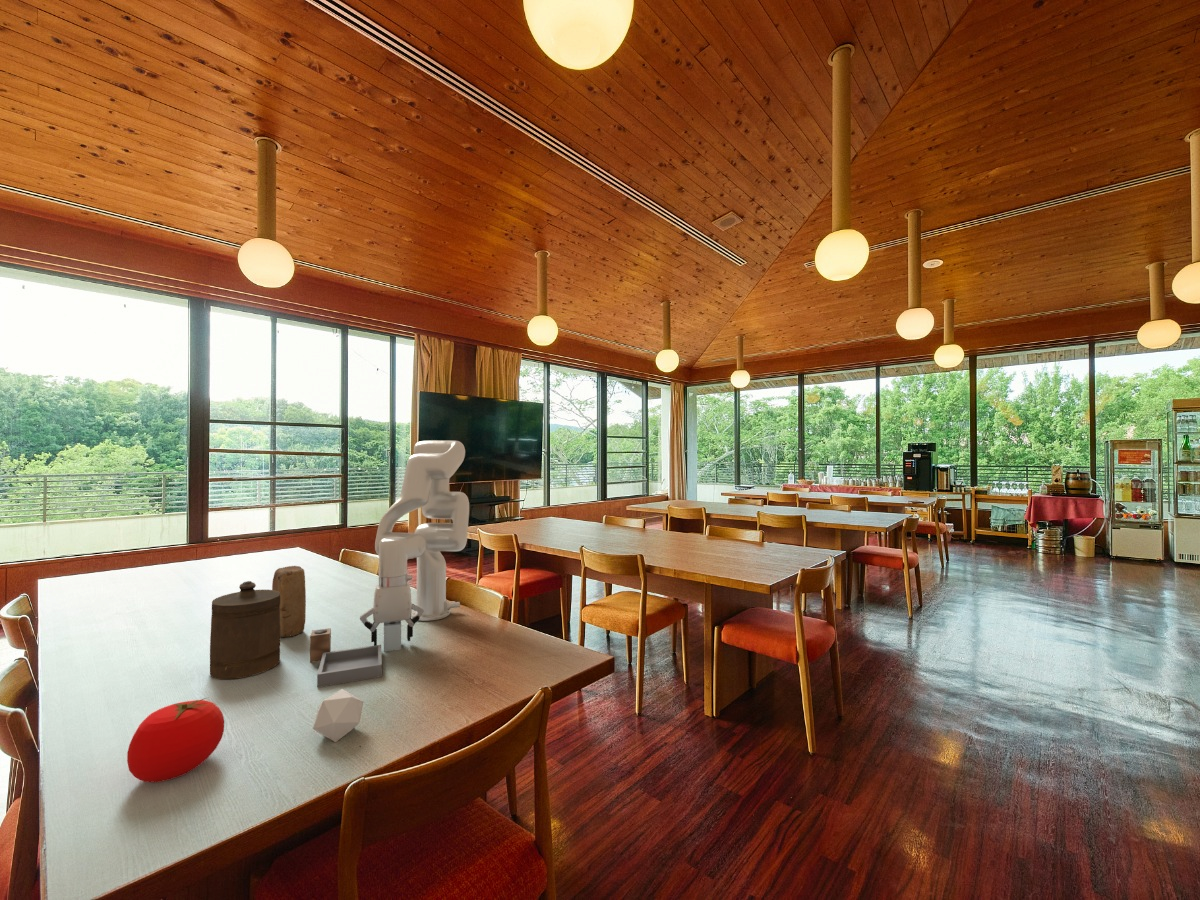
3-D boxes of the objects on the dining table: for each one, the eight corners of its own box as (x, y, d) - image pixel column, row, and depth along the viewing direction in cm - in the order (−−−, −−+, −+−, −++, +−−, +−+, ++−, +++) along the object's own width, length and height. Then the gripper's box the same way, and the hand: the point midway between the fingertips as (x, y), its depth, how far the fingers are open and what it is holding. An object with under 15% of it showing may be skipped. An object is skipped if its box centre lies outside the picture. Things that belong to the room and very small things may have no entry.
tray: (381, 655, 136) (381, 644, 136) (381, 676, 124) (381, 664, 124) (322, 664, 131) (323, 652, 131) (317, 687, 118) (317, 674, 118)
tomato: (107, 784, 83) (108, 716, 83) (198, 740, 96) (199, 681, 96) (152, 804, 79) (153, 731, 79) (242, 755, 91) (242, 692, 92)
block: (307, 634, 152) (307, 568, 152) (278, 640, 146) (279, 572, 147) (296, 625, 159) (297, 563, 160) (269, 631, 154) (269, 566, 154)
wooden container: (272, 650, 139) (273, 572, 139) (286, 667, 129) (287, 582, 129) (205, 666, 129) (206, 581, 129) (214, 686, 118) (215, 593, 118)
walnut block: (330, 653, 138) (330, 627, 138) (329, 659, 134) (329, 633, 134) (311, 656, 136) (312, 630, 136) (309, 662, 132) (310, 635, 132)
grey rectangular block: (400, 643, 145) (400, 619, 145) (401, 649, 141) (401, 624, 141) (383, 645, 143) (383, 621, 143) (383, 651, 139) (384, 626, 139)
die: (338, 722, 104) (308, 695, 100) (376, 700, 105) (347, 673, 100) (330, 757, 97) (297, 730, 92) (370, 734, 97) (339, 706, 93)
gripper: (423, 575, 149) (423, 633, 149) (359, 580, 142) (358, 641, 142) (426, 580, 142) (425, 641, 142) (358, 587, 135) (358, 651, 135)
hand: (392, 641), depth 142 cm, fingers open, 8 cm apart
